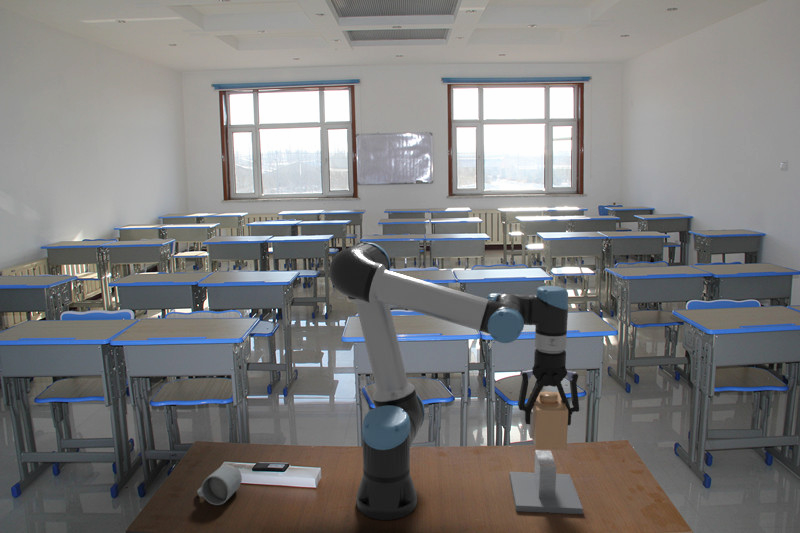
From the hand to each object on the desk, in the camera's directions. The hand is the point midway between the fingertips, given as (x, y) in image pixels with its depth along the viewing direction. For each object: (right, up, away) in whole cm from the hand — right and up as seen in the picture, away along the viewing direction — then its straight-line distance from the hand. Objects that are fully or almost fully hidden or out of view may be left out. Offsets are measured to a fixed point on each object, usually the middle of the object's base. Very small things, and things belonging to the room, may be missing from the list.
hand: (547, 435), depth 146 cm
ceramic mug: (-84, -16, +2) cm, 86 cm away
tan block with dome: (0, -1, 0) cm, 1 cm away
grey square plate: (0, -16, +3) cm, 16 cm away
